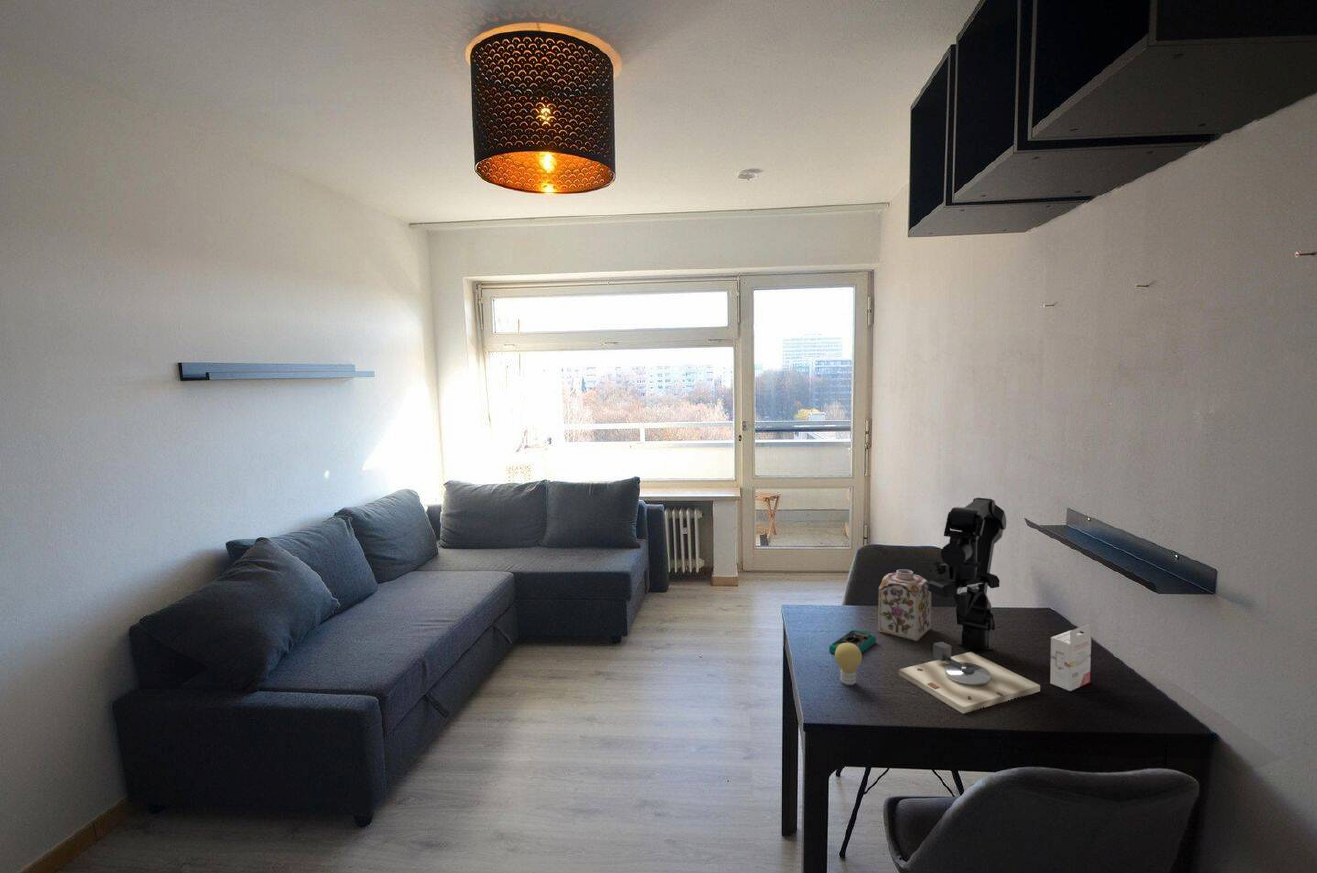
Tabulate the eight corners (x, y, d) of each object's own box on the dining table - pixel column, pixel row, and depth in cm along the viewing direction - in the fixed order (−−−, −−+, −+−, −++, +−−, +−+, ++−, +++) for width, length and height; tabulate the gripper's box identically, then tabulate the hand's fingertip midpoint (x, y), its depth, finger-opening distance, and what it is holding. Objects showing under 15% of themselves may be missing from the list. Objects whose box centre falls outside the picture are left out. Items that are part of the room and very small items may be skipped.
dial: (1000, 680, 152) (1000, 662, 151) (968, 689, 148) (968, 670, 148) (952, 656, 165) (952, 639, 165) (922, 663, 161) (922, 646, 161)
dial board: (970, 657, 168) (970, 651, 168) (1040, 691, 150) (1040, 684, 149) (899, 675, 160) (899, 668, 159) (963, 713, 141) (963, 706, 141)
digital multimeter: (877, 643, 179) (877, 633, 179) (853, 662, 169) (853, 651, 168) (852, 637, 184) (852, 627, 184) (828, 654, 173) (828, 644, 173)
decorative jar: (877, 632, 186) (877, 572, 184) (892, 619, 195) (892, 563, 193) (918, 642, 178) (919, 580, 177) (932, 629, 187) (933, 570, 185)
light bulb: (863, 690, 153) (863, 650, 152) (836, 688, 154) (836, 649, 153) (859, 677, 159) (859, 639, 158) (833, 676, 160) (833, 638, 159)
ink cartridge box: (1069, 674, 157) (1071, 617, 156) (1090, 683, 153) (1092, 624, 151) (1048, 683, 153) (1050, 624, 152) (1069, 692, 149) (1071, 631, 148)
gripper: (966, 545, 173) (965, 600, 174) (912, 553, 166) (912, 611, 167) (1001, 555, 162) (1000, 614, 164) (945, 565, 156) (944, 626, 157)
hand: (963, 616), depth 163 cm, fingers closed
